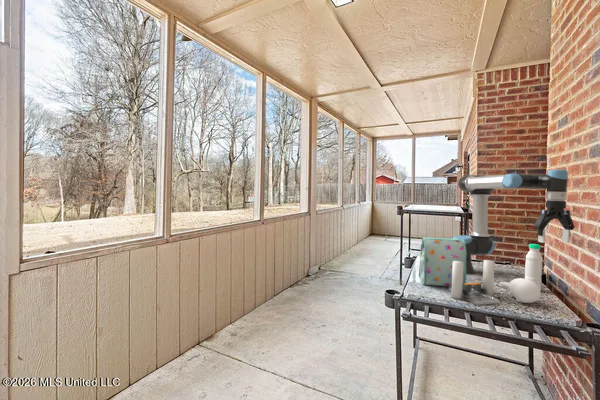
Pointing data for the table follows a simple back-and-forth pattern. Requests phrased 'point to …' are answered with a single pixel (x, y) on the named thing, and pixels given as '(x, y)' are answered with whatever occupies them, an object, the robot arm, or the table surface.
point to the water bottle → (534, 265)
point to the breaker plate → (478, 297)
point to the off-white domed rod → (488, 277)
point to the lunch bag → (441, 260)
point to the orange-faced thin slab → (476, 287)
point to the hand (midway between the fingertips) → (553, 242)
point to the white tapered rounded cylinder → (457, 280)
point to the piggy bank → (523, 290)
